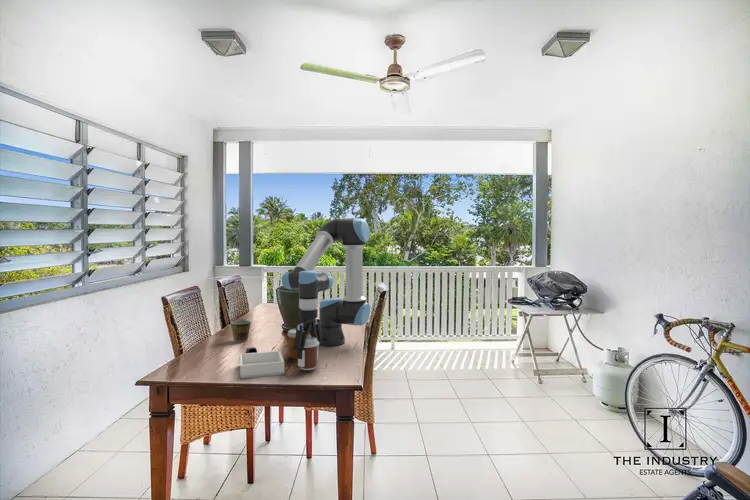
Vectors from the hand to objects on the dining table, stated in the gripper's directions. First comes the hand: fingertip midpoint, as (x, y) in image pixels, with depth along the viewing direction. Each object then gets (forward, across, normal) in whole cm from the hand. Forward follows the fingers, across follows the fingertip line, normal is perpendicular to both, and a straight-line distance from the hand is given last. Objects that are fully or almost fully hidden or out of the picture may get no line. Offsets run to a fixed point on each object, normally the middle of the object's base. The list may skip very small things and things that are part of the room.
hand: (308, 362), depth 165 cm
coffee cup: (+2, 0, 0) cm, 2 cm away
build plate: (+4, -4, -34) cm, 34 cm away
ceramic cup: (+4, -22, -59) cm, 63 cm away
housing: (+3, +8, -18) cm, 20 cm away
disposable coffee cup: (+4, -14, -16) cm, 21 cm away
